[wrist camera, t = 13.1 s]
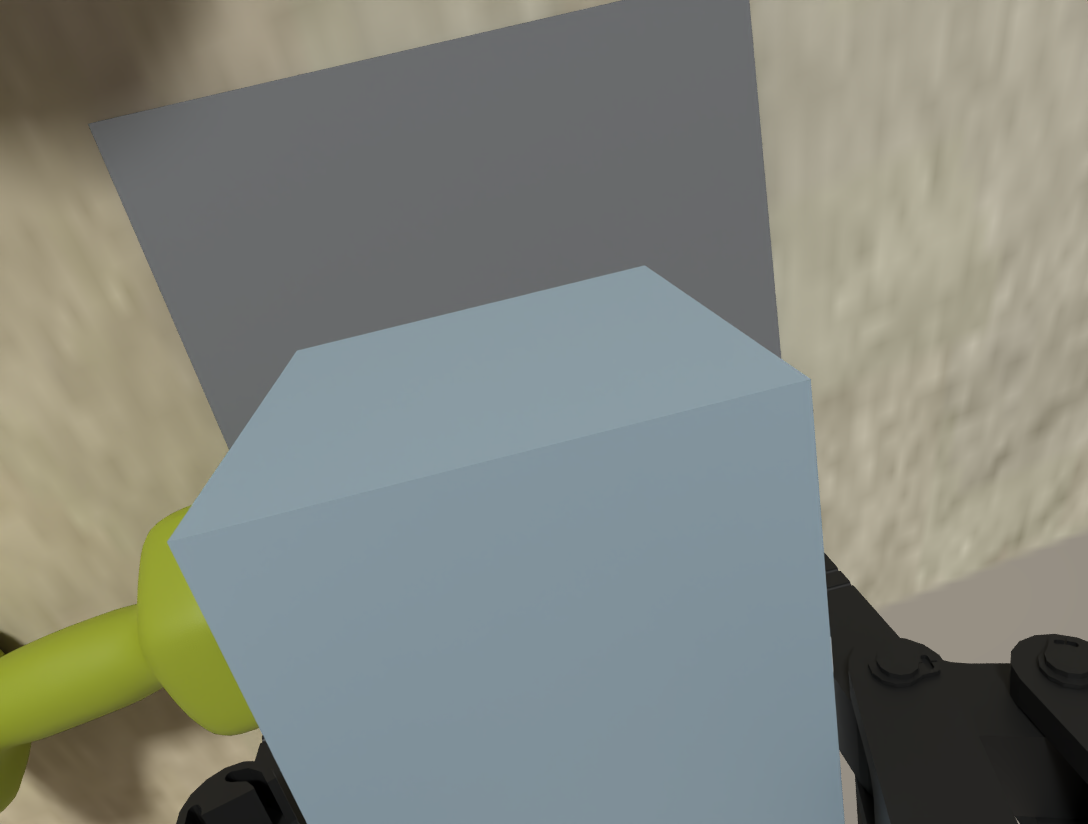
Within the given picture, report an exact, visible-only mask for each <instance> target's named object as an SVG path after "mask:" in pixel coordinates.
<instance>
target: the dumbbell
mask: <svg viewBox="0 0 1088 824" xmlns="http://www.w3.org/2000/svg"><path fill="white" fill-rule="evenodd" d="M191 506H192V505H190V506H188V507H186V508H183V509H181V510H179V511H176V512H174V513H172V514H170V515H169V516H167V517H166V518H164V519H162V520H161V521H160V522H158V523H157V524H156V525H155V526H154V527H153V528H152V529H151V530H150V531H149V533H148V535H147V538H146V540H145V542H144V545H143V548H142V553H141V559H140V567H139V579H138V596H137V604H135V605H131V606H127V607H123V608H120V609H117V610H114V611H110V612H107V613H105V614H102V615H99V616H96V617H93V618H90V619H88V620H85V621H82V622H80V623H77V624H74V625H72V626H69V627H67V628H64V629H61V630H59V631H57V632H54V633H52V634H49V635H47V636H45V637H42V638H40V639H38V640H36V641H33V642H31V643H29V644H27V645H24V646H22V647H20V648H18V649H16V650H14V651H12V652H10V653H8V654H6V655H5V654H4V653H3V652H2V651H1V650H0V813H1V812H2V811H3V810H4V809H5V808H6V807H7V806H8V805H9V804H10V803H11V802H12V800H13V799H14V798H15V796H16V794H17V792H18V790H19V788H20V784H21V781H22V778H23V775H24V772H25V769H26V765H27V761H28V757H29V752H30V747H31V742H33V741H37V740H40V739H43V738H46V737H49V736H52V735H55V734H57V733H60V732H62V731H65V730H68V729H70V728H73V727H76V726H78V725H81V724H83V723H86V722H89V721H91V720H94V719H96V718H99V717H101V716H104V715H106V714H109V713H111V712H114V711H116V710H119V709H121V708H124V707H126V706H128V705H131V704H133V703H135V702H137V701H140V700H142V699H144V698H145V697H147V696H149V695H151V694H153V693H154V692H156V691H158V690H160V689H162V688H164V689H165V690H166V691H167V692H168V694H169V695H170V696H171V697H172V698H173V700H174V701H175V702H176V703H177V704H178V705H179V707H180V708H181V709H182V710H183V711H184V712H185V713H186V714H187V715H188V716H189V717H190V718H191V719H193V720H194V721H195V722H197V723H198V724H199V725H201V726H202V727H203V728H205V729H206V730H208V731H210V732H212V733H214V734H219V735H228V736H232V735H238V734H242V733H246V732H249V731H252V730H255V729H257V728H259V726H258V724H257V722H256V720H255V718H254V716H253V714H252V712H251V710H250V708H249V706H248V704H247V702H246V700H245V698H244V696H243V694H242V692H241V690H240V688H239V686H238V684H237V682H236V680H235V678H234V676H233V674H232V672H231V670H230V668H229V666H228V664H227V662H226V660H225V658H224V656H223V654H222V652H221V650H220V648H219V646H218V644H217V642H216V640H215V638H214V636H213V634H212V632H211V630H210V628H209V626H208V624H207V622H206V620H205V618H204V616H203V614H202V612H201V610H200V608H199V606H198V604H197V602H196V600H195V598H194V596H193V594H192V592H191V590H190V588H189V586H188V584H187V582H186V580H185V578H184V576H183V574H182V572H181V569H180V567H179V565H178V563H177V561H176V559H175V557H174V555H173V553H172V551H171V549H170V547H169V545H168V543H167V541H168V540H169V538H170V537H171V535H172V534H173V532H174V531H175V529H176V528H177V526H178V525H179V524H180V522H181V521H182V519H183V518H184V516H185V515H186V513H187V512H188V510H189V509H190V507H191Z"/></svg>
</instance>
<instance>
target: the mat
mask: <svg viewBox="0 0 1088 824" xmlns="http://www.w3.org/2000/svg"><path fill="white" fill-rule="evenodd" d="M88 125H89V127H90V130H91V132H92V134H93V137H94V139H95V141H96V144H97V146H98V148H99V151H100V153H101V155H102V157H103V160H104V162H105V164H106V167H107V169H108V171H109V174H110V176H111V178H112V181H113V183H114V185H115V187H116V190H117V192H118V194H119V197H120V199H121V201H122V204H123V206H124V208H125V211H126V213H127V215H128V217H129V220H130V222H131V224H132V227H133V229H134V231H135V234H136V236H137V238H138V241H139V243H140V245H141V247H142V250H143V252H144V254H145V257H146V259H147V261H148V264H149V266H150V268H151V271H152V273H153V275H154V277H155V280H156V282H157V284H158V287H159V289H160V291H161V294H162V296H163V298H164V300H165V303H166V305H167V307H168V310H169V312H170V314H171V317H172V319H173V321H174V324H175V326H176V328H177V330H178V333H179V335H180V337H181V340H182V342H183V344H184V347H185V349H186V351H187V354H188V356H189V358H190V360H191V363H192V365H193V367H194V370H195V372H196V374H197V377H198V379H199V381H200V384H201V386H202V388H203V390H204V393H205V395H206V397H207V400H208V402H209V404H210V407H211V409H212V411H213V414H214V416H215V418H216V420H217V423H218V425H219V427H220V430H221V432H222V434H223V437H224V439H225V441H226V443H227V446H228V448H229V450H230V448H231V447H232V445H233V444H234V443H235V441H236V440H237V438H238V437H239V435H240V434H241V432H242V431H243V429H244V428H245V426H246V425H247V423H248V422H249V420H250V419H251V417H252V416H253V415H254V413H255V412H256V410H257V409H258V407H259V406H260V404H261V403H262V401H263V400H264V398H265V397H266V395H267V394H268V392H269V391H270V389H271V388H272V387H273V385H274V384H275V382H276V381H277V379H278V378H279V376H280V375H281V373H282V372H283V370H284V369H285V367H286V366H287V364H288V363H289V362H290V360H291V359H292V357H293V356H294V354H295V353H296V351H298V350H302V349H306V348H310V347H314V346H318V345H322V344H326V343H330V342H334V341H338V340H342V339H346V338H351V337H355V336H359V335H363V334H367V333H371V332H375V331H379V330H383V329H387V328H391V327H395V326H399V325H403V324H408V323H412V322H416V321H420V320H424V319H428V318H432V317H436V316H440V315H444V314H448V313H452V312H456V311H461V310H465V309H469V308H473V307H477V306H481V305H485V304H489V303H493V302H497V301H501V300H505V299H509V298H514V297H518V296H522V295H526V294H530V293H534V292H538V291H542V290H546V289H550V288H554V287H558V286H562V285H567V284H571V283H575V282H579V281H583V280H587V279H591V278H595V277H599V276H603V275H607V274H611V273H615V272H620V271H624V270H628V269H632V268H636V267H640V266H644V265H645V266H647V267H648V268H649V269H651V270H652V271H654V272H655V273H657V274H658V275H660V276H661V277H663V278H664V279H665V280H667V281H668V282H670V283H671V284H673V285H674V286H676V287H677V288H679V289H680V290H681V291H683V292H684V293H686V294H687V295H689V296H690V297H692V298H693V299H695V300H696V301H698V302H699V303H700V304H702V305H703V306H705V307H706V308H708V309H709V310H711V311H712V312H714V313H715V314H716V315H718V316H719V317H721V318H722V319H724V320H725V321H727V322H728V323H730V324H731V325H732V326H734V327H735V328H737V329H738V330H740V331H741V332H743V333H744V334H746V335H747V336H749V337H750V338H751V339H753V340H754V341H756V342H757V343H759V344H760V345H762V346H763V347H765V348H766V349H767V350H769V351H770V352H772V353H773V354H775V355H776V356H778V357H779V358H781V351H780V340H779V328H778V317H777V306H776V295H775V284H774V273H773V261H772V250H771V239H770V228H769V217H768V205H767V194H766V183H765V172H764V161H763V149H762V138H761V127H760V116H759V105H758V93H757V82H756V71H755V60H754V49H753V37H752V26H751V15H750V4H749V0H622V1H618V2H613V3H609V4H605V5H600V6H596V7H592V8H587V9H583V10H579V11H574V12H570V13H566V14H561V15H557V16H553V17H548V18H544V19H540V20H535V21H531V22H527V23H522V24H518V25H514V26H509V27H505V28H501V29H496V30H492V31H488V32H483V33H479V34H475V35H470V36H466V37H462V38H457V39H453V40H449V41H444V42H440V43H436V44H431V45H427V46H423V47H418V48H414V49H410V50H405V51H401V52H397V53H392V54H388V55H384V56H379V57H375V58H371V59H366V60H362V61H358V62H353V63H349V64H345V65H340V66H336V67H332V68H328V69H323V70H319V71H315V72H310V73H306V74H302V75H297V76H293V77H289V78H284V79H280V80H276V81H271V82H267V83H263V84H258V85H254V86H250V87H245V88H241V89H237V90H232V91H228V92H224V93H219V94H215V95H211V96H206V97H202V98H198V99H193V100H189V101H185V102H180V103H176V104H172V105H167V106H163V107H159V108H154V109H150V110H146V111H141V112H137V113H133V114H128V115H124V116H120V117H115V118H111V119H107V120H102V121H98V122H94V123H89V124H88Z"/></svg>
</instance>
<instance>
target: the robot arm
mask: <svg viewBox="0 0 1088 824" xmlns="http://www.w3.org/2000/svg"><path fill="white" fill-rule="evenodd" d="M824 561H825V574H826V587H827V600H828V613H829V626H830V639H831V652H832V665H833V678H834V691H835V704H836V717H837V730H838V743H839V750H840V752H841V753H842V755H843V756H844V758H845V760H846V761H847V763H848V764H849V766H850V767H851V769H852V771H853V772H854V774H855V782H856V797H857V814H858V824H1018V823H1017V820H1018V821H1019V823H1020V824H1088V642H1087V641H1085V640H1082V639H1080V638H1077V637H1070V636H1064V635H1057V634H1049V635H1048V634H1047V635H1034V636H1032V637H1029V638H1027V639H1024V640H1022V641H1019V643H1018V644H1017V645H1016V646H1015V647H1014V649H1013V650H1012V651H1011V663H1010V664H1009V663H1005V664H1003V663H1002V664H1001V663H998V664H994V663H990V664H989V663H986V664H967V663H954V662H948V661H944V660H942V658H941V657H940V656H939V655H938V654H937V653H935V652H934V651H932V650H931V649H929V648H928V647H926V646H925V645H923V644H920V643H917V642H914V641H911V640H908V639H904V638H900V637H899V636H898V635H897V634H896V633H895V632H894V631H893V630H892V628H891V627H889V625H888V624H887V623H886V622H885V621H884V619H883V618H882V617H881V616H880V615H879V614H878V613H877V612H876V610H875V609H874V608H873V607H872V606H871V605H870V604H869V603H868V601H867V600H866V599H865V598H864V597H863V596H862V595H861V593H860V592H859V591H858V590H857V589H856V588H855V587H854V586H853V585H852V586H851V584H850V581H849V580H848V579H847V578H846V577H845V575H844V574H843V573H842V572H841V571H838V568H837V566H836V565H835V564H834V563H833V562H832V561H831V560H830V558H829V557H828V556H827V555H826V554H825V553H824ZM1015 817H1016V818H1017V820H1016V818H1015ZM176 824H307V823H306V821H305V819H304V817H303V815H302V812H301V810H300V808H299V806H298V804H297V802H296V800H295V798H294V796H293V794H292V792H291V790H290V788H289V786H288V784H287V782H286V780H285V778H284V776H283V774H282V772H281V770H280V768H279V766H278V764H277V762H276V760H275V758H274V756H273V754H272V752H271V750H270V748H269V746H268V744H267V742H266V740H265V738H264V736H262V743H260V746H259V749H258V753H257V756H256V759H255V761H246V762H241V763H238V764H235V765H232V766H229V767H226V768H224V769H223V770H221V771H220V772H218V773H216V774H215V775H213V776H212V777H210V778H208V779H207V780H206V781H205V782H204V783H203V784H202V785H201V786H199V787H198V788H197V789H196V790H195V791H194V792H193V793H192V794H191V795H190V797H189V798H188V800H187V801H186V803H185V804H184V806H183V807H182V809H181V810H180V812H179V816H178V819H177V823H176Z"/></svg>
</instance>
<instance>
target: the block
mask: <svg viewBox="0 0 1088 824" xmlns="http://www.w3.org/2000/svg"><path fill="white" fill-rule="evenodd" d="M167 543H168V545H169V547H170V549H171V551H172V553H173V555H174V557H175V559H176V561H177V563H178V565H179V567H180V569H181V572H182V574H183V576H184V578H185V580H186V582H187V584H188V586H189V588H190V590H191V592H192V594H193V596H194V598H195V600H196V602H197V604H198V606H199V608H200V610H201V612H202V614H203V616H204V618H205V620H206V622H207V624H208V626H209V628H210V630H211V632H212V634H213V636H214V638H215V640H216V642H217V644H218V646H219V648H220V650H221V652H222V654H223V656H224V658H225V660H226V662H227V664H228V666H229V668H230V670H231V672H232V674H233V676H234V678H235V680H236V682H237V684H238V686H239V688H240V690H241V692H242V694H243V696H244V698H245V700H246V702H247V704H248V706H249V708H250V710H251V712H252V714H253V716H254V718H255V720H256V722H257V724H258V726H259V728H260V730H261V732H262V734H263V736H264V738H265V740H266V742H267V744H268V746H269V748H270V750H271V752H272V754H273V756H274V758H275V760H276V762H277V764H278V766H279V768H280V770H281V772H282V774H283V776H284V778H285V780H286V782H287V784H288V786H289V788H290V790H291V792H292V794H293V796H294V798H295V800H296V802H297V804H298V806H299V808H300V810H301V812H302V815H303V817H304V819H305V821H306V823H307V824H845V823H844V809H843V796H842V783H841V769H840V756H839V743H838V730H837V717H836V704H835V691H834V678H833V665H832V652H831V639H830V626H829V613H828V600H827V587H826V574H825V561H824V548H823V535H822V521H821V508H820V495H819V482H818V469H817V456H816V443H815V430H814V417H813V404H812V391H811V379H810V378H808V377H807V376H805V375H804V374H802V373H801V372H800V371H798V370H797V369H795V368H794V367H792V366H791V365H789V364H788V363H786V362H785V361H783V360H782V359H781V358H779V357H778V356H776V355H775V354H773V353H772V352H770V351H769V350H767V349H766V348H765V347H763V346H762V345H760V344H759V343H757V342H756V341H754V340H753V339H751V338H750V337H749V336H747V335H746V334H744V333H743V332H741V331H740V330H738V329H737V328H735V327H734V326H732V325H731V324H730V323H728V322H727V321H725V320H724V319H722V318H721V317H719V316H718V315H716V314H715V313H714V312H712V311H711V310H709V309H708V308H706V307H705V306H703V305H702V304H700V303H699V302H698V301H696V300H695V299H693V298H692V297H690V296H689V295H687V294H686V293H684V292H683V291H681V290H680V289H679V288H677V287H676V286H674V285H673V284H671V283H670V282H668V281H667V280H665V279H664V278H663V277H661V276H660V275H658V274H657V273H655V272H654V271H652V270H651V269H649V268H648V267H647V266H645V265H644V266H640V267H636V268H632V269H628V270H624V271H620V272H615V273H611V274H607V275H603V276H599V277H595V278H591V279H587V280H583V281H579V282H575V283H571V284H567V285H562V286H558V287H554V288H550V289H546V290H542V291H538V292H534V293H530V294H526V295H522V296H518V297H514V298H509V299H505V300H501V301H497V302H493V303H489V304H485V305H481V306H477V307H473V308H469V309H465V310H461V311H456V312H452V313H448V314H444V315H440V316H436V317H432V318H428V319H424V320H420V321H416V322H412V323H408V324H403V325H399V326H395V327H391V328H387V329H383V330H379V331H375V332H371V333H367V334H363V335H359V336H355V337H351V338H346V339H342V340H338V341H334V342H330V343H326V344H322V345H318V346H314V347H310V348H306V349H302V350H298V351H296V353H295V354H294V356H293V357H292V359H291V360H290V362H289V363H288V364H287V366H286V367H285V369H284V370H283V372H282V373H281V375H280V376H279V378H278V379H277V381H276V382H275V384H274V385H273V387H272V388H271V389H270V391H269V392H268V394H267V395H266V397H265V398H264V400H263V401H262V403H261V404H260V406H259V407H258V409H257V410H256V412H255V413H254V415H253V416H252V417H251V419H250V420H249V422H248V423H247V425H246V426H245V428H244V429H243V431H242V432H241V434H240V435H239V437H238V438H237V440H236V441H235V443H234V444H233V445H232V447H231V448H230V450H229V451H228V453H227V454H226V456H225V457H224V459H223V460H222V462H221V463H220V465H219V466H218V468H217V469H216V470H215V472H214V473H213V475H212V476H211V478H210V479H209V481H208V482H207V484H206V485H205V487H204V488H203V490H202V491H201V493H200V494H199V496H198V497H197V498H196V500H195V501H194V503H193V504H192V506H191V507H190V509H189V510H188V512H187V513H186V515H185V516H184V518H183V519H182V521H181V522H180V524H179V525H178V526H177V528H176V529H175V531H174V532H173V534H172V535H171V537H170V538H169V540H168V541H167Z"/></svg>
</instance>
